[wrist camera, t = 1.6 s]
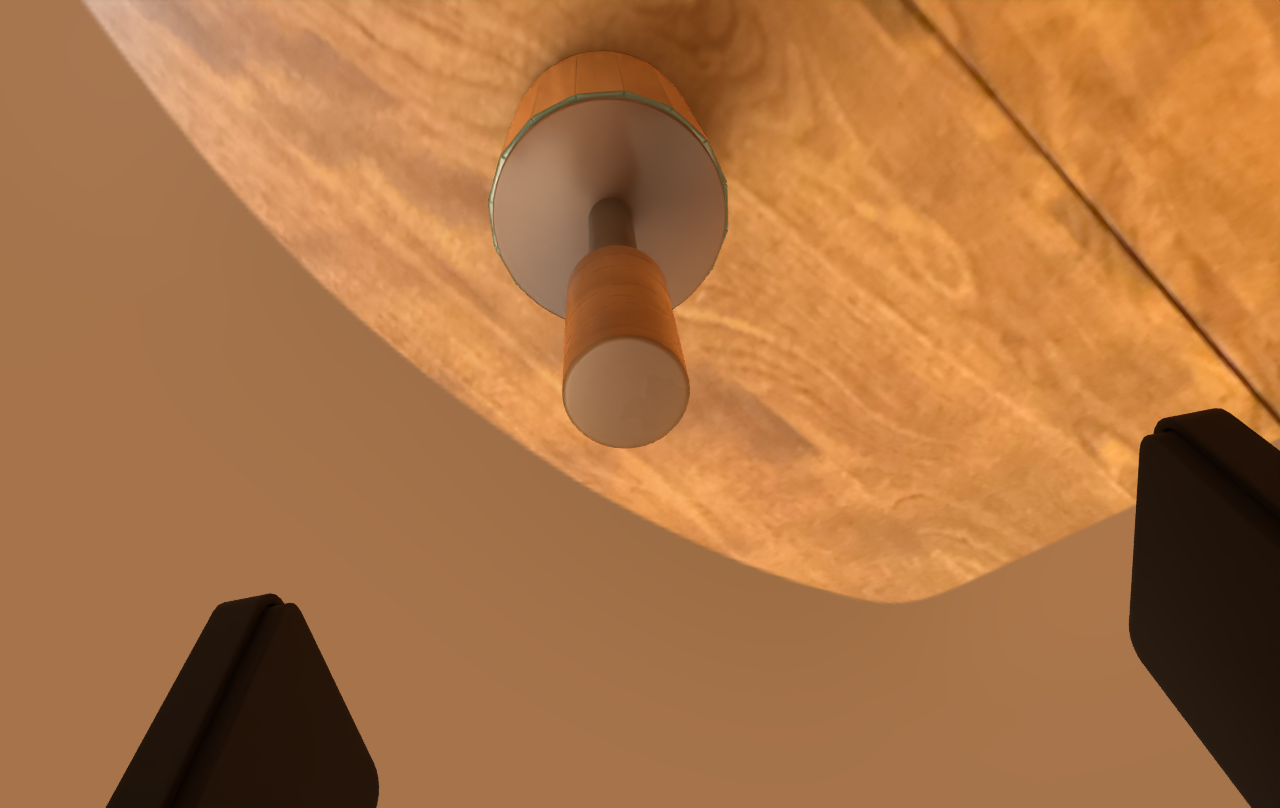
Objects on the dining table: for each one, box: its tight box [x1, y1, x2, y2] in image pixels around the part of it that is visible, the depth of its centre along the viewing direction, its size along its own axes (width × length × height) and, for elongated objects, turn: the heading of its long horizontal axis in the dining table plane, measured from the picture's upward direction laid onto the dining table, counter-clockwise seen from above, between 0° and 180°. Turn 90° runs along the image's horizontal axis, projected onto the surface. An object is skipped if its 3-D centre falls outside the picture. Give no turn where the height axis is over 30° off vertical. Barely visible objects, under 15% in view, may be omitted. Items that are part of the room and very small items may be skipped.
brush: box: [492, 97, 726, 448], centre depth 24 cm, size 6×6×19 cm
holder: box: [488, 51, 728, 290], centre depth 30 cm, size 7×7×9 cm
